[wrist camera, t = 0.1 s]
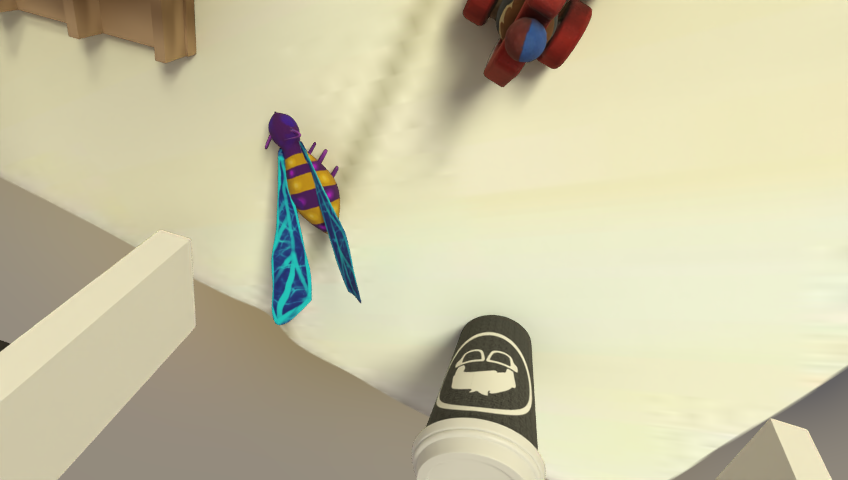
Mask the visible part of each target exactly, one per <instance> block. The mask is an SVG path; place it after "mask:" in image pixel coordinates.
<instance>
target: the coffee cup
mask: <svg viewBox="0 0 848 480" xmlns="http://www.w3.org/2000/svg"><path fill="white" fill-rule="evenodd" d="M412 463H413V469H414V472H415V475H416V477H417V480H545V477H546V468H545V464H544V461H543V459H542V457H541V455H540V453H539V452H538V445H537V430H536V414H535V397H534V380H533V363H532V346H531V340H530V337H529V335H528V333H527V332H526V330H525V329H524V328H523V327H522V326H521V325H520V324H518V323H517V322H515V321H513V320H511V319H509V318H506V317H502V316H496V315H487V316H481V317H478V318H476V319H474V320H472V321H470V322H469V323H468V324H467V325H466V326H465V327H464V329H463V331H462V333H461V336H460V338H459V341H458V344H457V346H456V349H455V352H454V354H453V357H452V360H451V363H450V365H449V368H448V371H447V373H446V376H445V379H444V381H443V384H442V387H441V389H440V392H439V395H438V397H437V400H436V402H435V405H434V408H433V410H432V413H431V416H430V418H429V421H428V423H427V426H426V428H424V429H423V430H422V431H421V432H420V433H419V434H418V435H417V437H416V438H415V440H414V443H413V446H412Z"/></svg>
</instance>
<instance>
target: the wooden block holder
mask: <svg viewBox="0 0 848 480" xmlns="http://www.w3.org/2000/svg"><path fill="white" fill-rule="evenodd" d="M12 10H22V11H25V12H29V13H32V14H36V15H40V16H43V17H47V18H50V19H54V20H58V21H61V22H65V23H67V29H68V34H69V36H70V37H73V38H77V39H81V38H85V37H89V36H94V35H98V34H102V33H104V34H108V35H112V36H115V37H119V38H122V39H126V40H130V41H133V42H137V43H140V44H144V45H148V46H151V47H154V51H155V60H156V61H159V62H163V63H168V62H171V61H174V60H176V59H179V58H182V57H185V56H187V57H189V56H192V55H195V54H196V38H195V15H194V0H0V12H6V11H12Z"/></svg>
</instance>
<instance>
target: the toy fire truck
mask: <svg viewBox="0 0 848 480" xmlns="http://www.w3.org/2000/svg"><path fill="white" fill-rule="evenodd" d="M565 2H566V0H468V1H467V3H466V5H465V8H464V10H463V15H464V17H465V18H466V19H468V20H470V21H471V22H473V23H475V24H476V25H478V26H482V25H484V24H485V23H486V21H487V19H488V18H489V17H492V18H494V19H495V20H496V24H497V30H498V33H499V35H500V39H499V40H498V42H497V44H496V46H495V48H494V49H493V51H492V53H491V55H490V57H489V59H488V62H487V64H486V67H485V70H484V76H485V77H487V78H488V79H490V80H491V81H493V82H494V83H496V84H498V85H499V86H501V87H504V86H505V85H506V84H507V83H509V82H510V81H511V80H512V79H514V78H515V77H516V76H517V75H518V74H519V72H520V71H521V69H522V68H523V66H524V65H525V63H526V62H530V61H533V60H535V59H536V58H537V60H538V61H539V62H541V63H543V64H545V65H546V66H548V67H550V68H552V69H556V68H558V67H560V66H561V65H562V64H563V63H564V61H565V60H566V59H567V58H568V56H569V55H570V53H571V52H572V51H573V49H574V48H575V46H576V45H577V43H578V41H579V40H580V38H581V37H582V35H583V33H584V32H585V30H586V28H587V26H588V24H589V21H590V19H591V16H592V9H591V8H590V7H589V6H587V5H586V4H584V3H582V2H581V1H579V0H570V1H568V3H567V4H566V5H565V6H564V4H565ZM563 6H564V8H563V9H562V7H563ZM561 9H562V11H561V12H560V10H561ZM559 12H560V13H559ZM558 13H559V15H558Z"/></svg>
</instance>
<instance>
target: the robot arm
mask: <svg viewBox="0 0 848 480" xmlns="http://www.w3.org/2000/svg"><path fill="white" fill-rule="evenodd" d="M193 284H194V283H193V265H192V247H191V239H189V238H186V237H183V236H180V235H177V234H173V233H170V232H167V231H164V230H159V231H158V232H156V233H155V234H154V235H152V236H151V237H150V238H148V239H147V240H146V241H144V242H143V243H142V244H141V245H139V246H138V247H137V248H135V249H134V250H133V251H131V252H130V253H129V254H128V255H126V256H125V257H124V258H122V259H121V260H120V261H118V262H117V263H116V264H114V266H112V267H111V268H109V269H108V270H107V271H105V272H104V273H103V274H102V275H100V276H99V277H97V278H96V279H95V280H94V281H92V282H91V283H90V284H88V285H87V286H86V287H84V288H83V289H82V290H80V291H79V292H78V293H77V294H75V295H74V296H73V297H71V298H70V299H69V300H67V301H66V302H65V303H64V304H62V305H61V306H60V307H59V308H57V309H56V310H54V311H53V312H52V313H50V314H49V315H48V316H47V317H45V318H44V319H43V320H41V321H40V322H39V323H37V324H36V325H35V326H33V327H32V328H31V329H30V330H28V331H27V332H26V333H24V334H23V335H22V336H20V337H19V338H18V339H16V340H15V341H14V342H13V343H11V344H9V343H7V342H4V341H1V340H0V480H58V479H59V477H60V476H61V475H62V474H63V473H64V472H65V471H66V470H67V469H68V467H69V466H70V465H71V464H72V463H73V462H74V461H75V460H76V459H77V458H78V456H79V455H80V454H81V453H82V452H83V451H84V450H85V449H86V447H87V446H88V445H89V444H90V443H91V442H92V441H93V440H94V439H95V438H96V436H97V435H98V434H99V433H100V432H101V431H102V430H103V429H104V428H105V426H106V425H107V424H108V423H109V422H110V421H111V420H112V419H113V418H114V416H115V415H116V414H117V413H118V412H119V411H120V410H121V409H122V407H123V406H124V405H125V404H126V403H127V402H128V401H129V400H130V399H131V398H132V397H133V395H134V394H135V393H136V392H137V391H138V390H139V389H140V388H141V387H142V385H143V384H144V383H145V382H146V381H147V380H148V379H149V378H150V377H151V375H152V374H153V373H154V372H155V371H156V370H157V369H158V368H159V367H160V366H161V364H162V363H163V362H164V361H165V360H166V359H167V358H168V357H169V356H170V355H171V353H172V352H173V351H174V350H175V349H176V348H177V347H178V346H179V345H180V343H181V342H182V341H183V340H184V339H185V338H186V337H187V336H188V335H189V333H190V332H191V331H192V330H193V329H194V328H195V327H196V320H195V303H194V285H193ZM715 480H832V479H831V477H830V475H829V473H828V471H827V469H826V467H825V465H824V463H823V461H822V458H821V456H820V455H819V453H818V450H817V448H816V446H815V444H814V442H813V440H812V438H811V436H810V434H809V432H808V430H807V429H803V428H800V427H797V426H794V425H790V424H787V423H784V422H781V421H777V420H774V419H771V418H770V419H769V420H768V421H767V423H766V424H765V425H764V426H763V427H762V428H761V429H760V430H759V431H758V432H757V434H756V435H755V436H754V437H753V438H752V439H751V440H750V442H748V443H747V445H746V446H745V447H744V448H743V449H742V450H741V452H739V453H738V455H737V456H736V457H735V458H734V459H733V460H732V461H731V462H730V464H729V465H728V466H727V467H726V468H725V469H724V470H723V471H722V472H721V474H720V475H719V476H718V477H717V478H716V479H715Z"/></svg>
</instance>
